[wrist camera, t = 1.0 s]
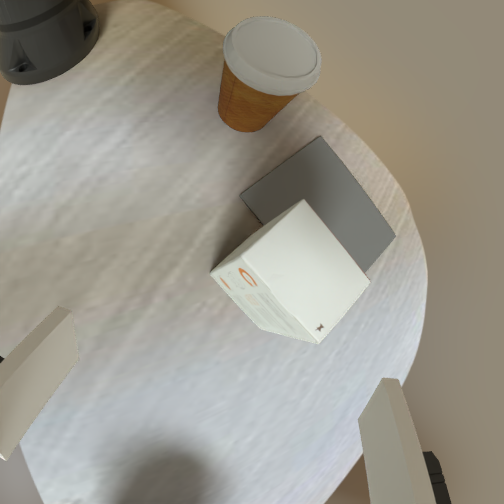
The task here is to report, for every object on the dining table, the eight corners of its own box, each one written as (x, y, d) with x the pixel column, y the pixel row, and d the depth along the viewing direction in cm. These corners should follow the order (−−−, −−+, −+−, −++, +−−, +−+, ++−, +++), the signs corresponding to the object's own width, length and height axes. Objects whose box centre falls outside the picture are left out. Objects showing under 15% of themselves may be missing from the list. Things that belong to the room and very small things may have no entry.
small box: (301, 289, 35) (374, 282, 23) (260, 330, 33) (319, 348, 21) (251, 232, 34) (304, 195, 22) (207, 272, 32) (237, 256, 20)
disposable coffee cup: (270, 78, 38) (307, 17, 26) (290, 141, 37) (340, 87, 26) (197, 82, 35) (216, 11, 24) (212, 149, 34) (239, 86, 23)
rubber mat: (239, 195, 34) (240, 195, 34) (319, 137, 38) (320, 135, 38) (330, 309, 36) (331, 309, 35) (394, 236, 40) (396, 236, 39)
